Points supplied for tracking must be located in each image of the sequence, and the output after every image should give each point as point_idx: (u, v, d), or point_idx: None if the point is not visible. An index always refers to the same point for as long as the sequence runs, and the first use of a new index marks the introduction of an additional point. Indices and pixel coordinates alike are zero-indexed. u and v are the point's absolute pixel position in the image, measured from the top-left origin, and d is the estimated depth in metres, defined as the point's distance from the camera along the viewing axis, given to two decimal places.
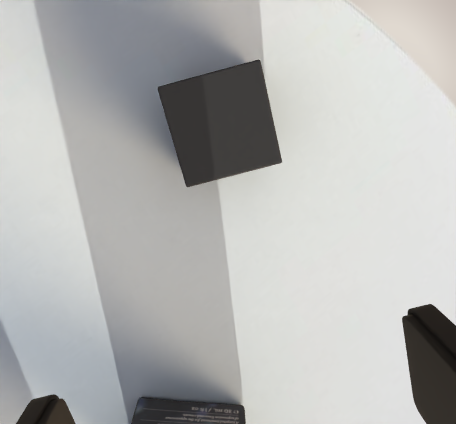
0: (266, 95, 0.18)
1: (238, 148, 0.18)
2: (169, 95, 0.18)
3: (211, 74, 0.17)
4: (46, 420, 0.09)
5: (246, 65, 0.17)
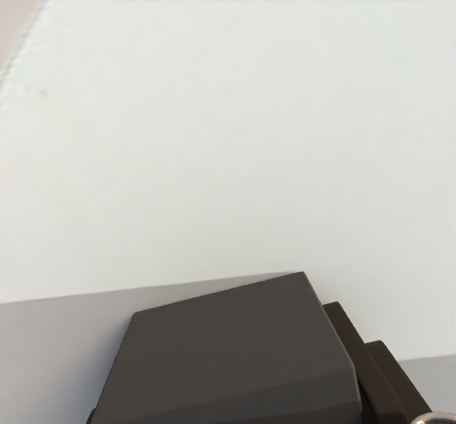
0: (174, 409, 0.07)
1: None
2: None
3: None
4: None
5: None
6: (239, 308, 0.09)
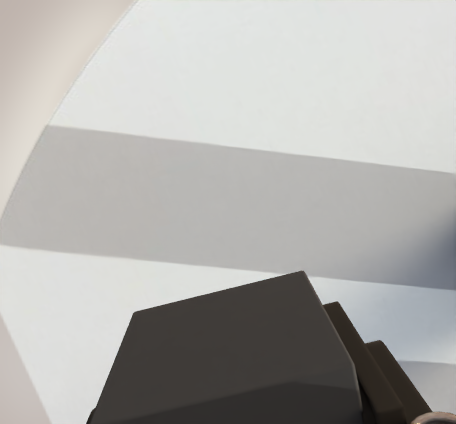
0: (174, 408, 0.07)
1: None
2: None
3: None
4: None
5: None
6: (239, 307, 0.09)
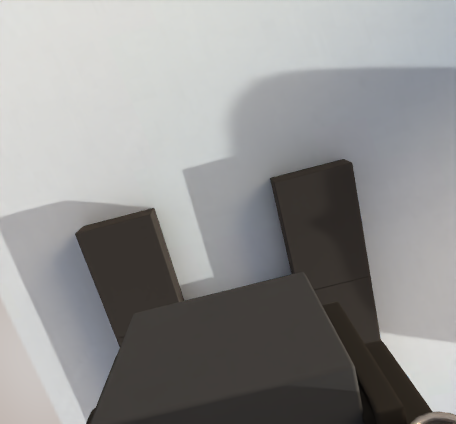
0: (174, 410, 0.07)
1: None
2: None
3: None
4: None
5: None
6: (239, 309, 0.09)
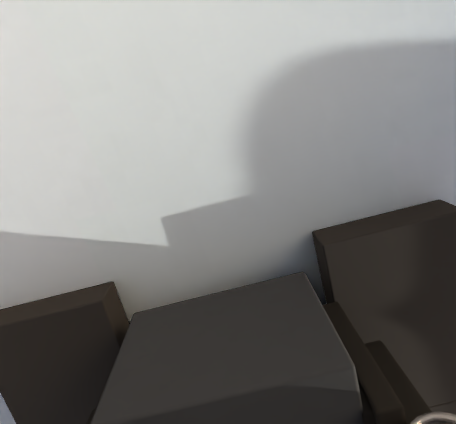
0: (174, 410, 0.07)
1: None
2: None
3: None
4: None
5: None
6: (239, 308, 0.09)
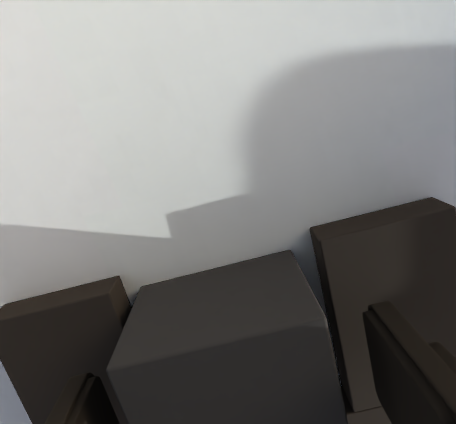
0: (177, 354, 0.08)
1: (287, 403, 0.09)
2: None
3: None
4: (86, 395, 0.09)
5: (119, 392, 0.08)
6: (233, 280, 0.11)
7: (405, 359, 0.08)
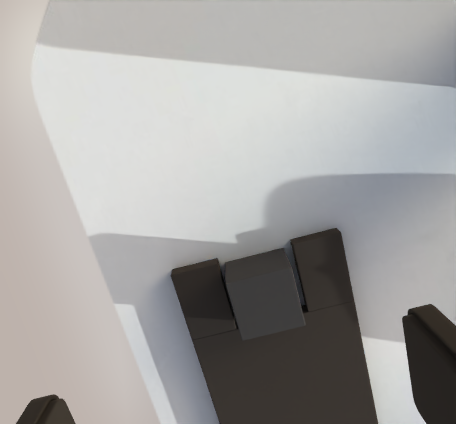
0: (247, 278, 0.27)
1: (280, 295, 0.28)
2: (247, 334, 0.28)
3: (234, 311, 0.28)
4: (46, 420, 0.09)
5: (229, 291, 0.27)
6: (261, 258, 0.30)
7: None
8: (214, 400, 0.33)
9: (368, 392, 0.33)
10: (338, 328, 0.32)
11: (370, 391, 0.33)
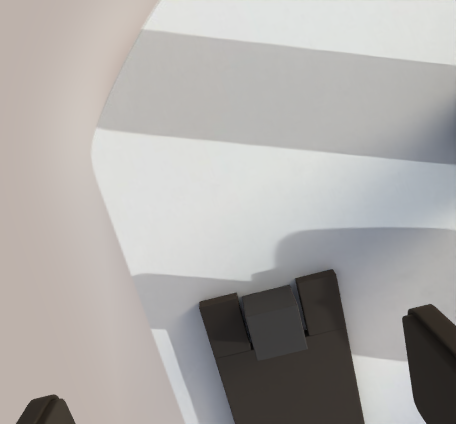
0: (262, 313, 0.35)
1: (288, 325, 0.35)
2: (261, 356, 0.36)
3: (252, 338, 0.35)
4: (46, 420, 0.09)
5: (247, 322, 0.35)
6: (272, 294, 0.37)
7: None
8: (231, 406, 0.41)
9: (357, 399, 0.41)
10: (333, 349, 0.39)
11: (358, 398, 0.41)
